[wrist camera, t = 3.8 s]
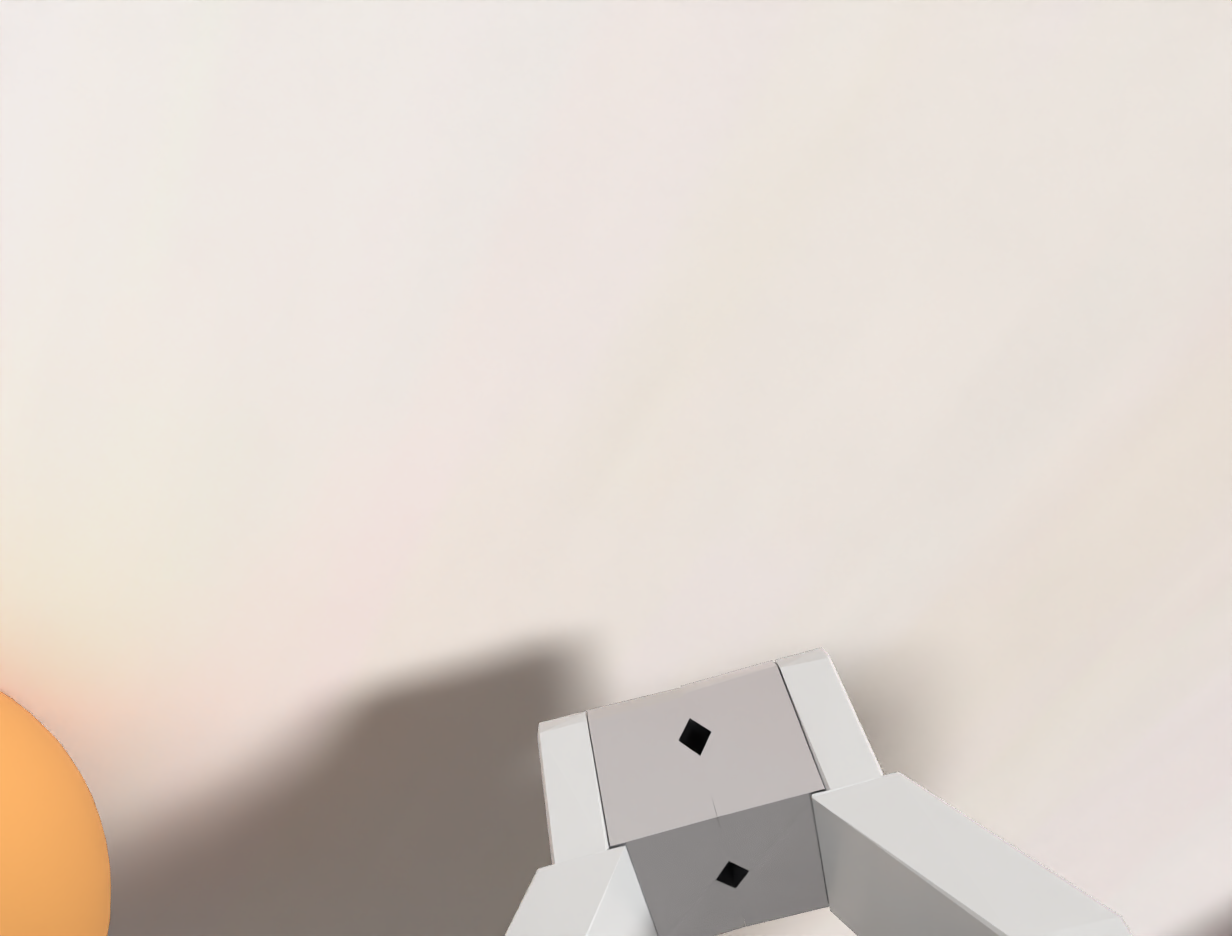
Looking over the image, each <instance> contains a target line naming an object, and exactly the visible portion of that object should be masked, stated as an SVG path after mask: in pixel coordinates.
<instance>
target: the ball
mask: <svg viewBox="0 0 1232 936" xmlns="http://www.w3.org/2000/svg"><path fill="white" fill-rule="evenodd" d="M110 904H111V878H110V864H109V857H108V850H107V844H106V838H105V835H104V831H103V827H102V823H101V820H100V817H99V814H98V811H97V809H96V806H95V803H94V800H93V797H92V795H91V793H90V791H89V789H88V787H87V785H86V783H85V781H84V779H83V777H82V775H81V774H80V772H79V771H78V769H77V767H76V766H75V764H74V762H73V761H72V759H71V758H70V756H69V755H68V754H67V752H66V751H65V750H64V748H63V747H62V745H61V744H60V743H59V741H58V740H57V739H56V738H55V737H54V736H53V735H52V734H51V733H50V732H49V731H48V730H47V729H46V728H45V727H44V726H43V725H42V724H41V723H40V722H39V721H38V720H37V719H36V718H35V717H34V716H33V715H32V714H31V713H29V712H28V711H27V710H26V709H24V708H23V707H22V706H21V705H19V704H18V703H17V702H16V701H14V700H13V699H12V698H10V697H8V696H7V695H5V694H4V693H2V692H0V936H107V934H108V928H109V923H110Z"/></svg>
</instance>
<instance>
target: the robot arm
mask: <svg viewBox="0 0 1232 936" xmlns="http://www.w3.org/2000/svg"><path fill="white" fill-rule="evenodd" d="M537 740H538V748H539V757H540V765H541V774H542V783H543V791H544V800H545V808H546V817H547V826H548V834H549V843H550V851H551V860H552V865H548V866H545V867H542V868H538V869H537V871H536V873H535V875H534V877H533V879H532V881H531V883H530V885H529V887H528V889H527V891H526V893H525V895H524V897H523V899H522V901H521V903H520V905H519V907H518V909H517V911H516V913H515V915H514V917H513V919H512V921H511V923H510V925H509V927H508V929H507V931H506V933H505V935H504V936H716V935H719V934H722V933H726V932H729V931H732V930H736V929H739V928H742V927H746V926H750V925H754V924H758V923H762V922H767V921H771V920H775V919H779V918H783V917H787V916H792V915H796V914H800V913H804V912H808V911H812V910H817V909H821V908H825V907H829V906H830V911H831V912H832V913H833V914H834V915H836V916H837V917H838V918H839V919H840V920H841V921H842V922H843V923H844V924H845V925H846V926H848V927H849V928H850V929H851V930H852V931H853V932H854V933H855V934H856V935H857V936H1133V935H1132V933H1131V931H1130V930H1129V928H1128V926H1127V925H1126V923H1125V921H1124V920H1123V918H1122V916H1120V915H1119V914H1117V913H1116V912H1114V911H1113V910H1111V909H1110V908H1108V907H1107V906H1105V905H1103V904H1102V903H1100V902H1099V901H1097V900H1096V899H1094V898H1093V897H1091V896H1090V895H1088V894H1086V893H1085V892H1083V891H1082V890H1080V889H1079V888H1077V887H1076V886H1074V885H1073V884H1071V883H1070V882H1068V881H1066V880H1065V879H1063V878H1062V877H1060V876H1059V875H1057V874H1056V873H1054V872H1053V871H1051V870H1050V869H1048V868H1046V867H1045V866H1043V865H1042V864H1040V863H1039V862H1037V861H1036V860H1034V859H1033V858H1031V857H1030V856H1028V855H1026V854H1025V853H1023V852H1022V851H1020V850H1019V849H1017V848H1016V847H1014V846H1013V845H1011V844H1009V843H1008V842H1006V841H1005V840H1003V839H1002V838H1000V837H999V836H997V835H996V834H994V833H993V832H991V831H989V830H988V829H986V828H985V827H983V826H982V825H980V824H979V823H977V822H976V821H974V820H973V819H971V818H969V817H968V816H966V815H965V814H963V813H962V812H960V811H959V810H957V809H956V808H954V807H953V806H951V805H949V804H948V803H946V802H945V801H943V800H942V799H940V798H939V797H937V796H936V795H934V794H932V793H931V792H929V791H928V790H926V789H925V788H923V787H922V786H920V785H919V784H917V783H916V782H914V781H912V780H911V779H909V778H908V777H906V776H905V775H903V774H902V773H900V772H895V773H891V774H886V775H884V774H883V772H882V770H881V767H880V765H879V763H878V761H877V759H876V756H875V754H874V752H873V750H872V748H871V745H870V743H869V741H868V739H867V737H866V734H865V732H864V730H863V728H862V726H861V723H860V721H859V719H858V717H857V715H856V712H855V710H854V708H853V706H852V704H851V702H850V699H849V697H848V695H847V693H846V691H845V688H844V686H843V684H842V682H841V680H840V677H839V675H838V673H837V671H836V669H835V666H834V664H833V662H832V660H831V658H830V655H829V654H828V653H827V652H826V651H825V650H824V649H823V648H822V647H821V648H817V649H814V650H810V651H806V652H803V653H799V654H795V655H792V656H788V657H784V658H781V659H777V660H775V662H773V660H771V661H767V662H764V663H760V664H757V665H753V666H750V667H746V668H743V669H739V670H736V671H732V672H728V673H725V674H721V675H718V676H714V677H711V678H707V679H704V680H700V681H696V682H693V683H689V684H686V685H682V686H681V687H680V688H676V689H672V690H668V691H664V692H660V693H656V694H652V695H647V696H643V697H639V698H635V699H631V700H627V701H623V702H618V703H614V704H610V705H606V706H602V707H598V708H594V709H590V710H587V711H584V712H580V713H576V714H572V715H568V716H564V717H560V718H556V719H552V720H548V721H544V722H540V723H539V726H538V735H537ZM744 921H745V922H744ZM745 925H746V926H745Z"/></svg>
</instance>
